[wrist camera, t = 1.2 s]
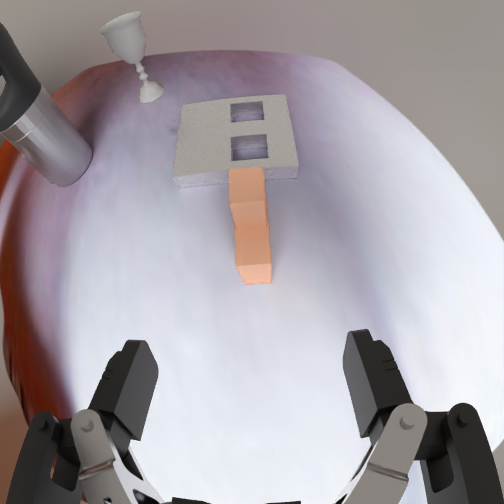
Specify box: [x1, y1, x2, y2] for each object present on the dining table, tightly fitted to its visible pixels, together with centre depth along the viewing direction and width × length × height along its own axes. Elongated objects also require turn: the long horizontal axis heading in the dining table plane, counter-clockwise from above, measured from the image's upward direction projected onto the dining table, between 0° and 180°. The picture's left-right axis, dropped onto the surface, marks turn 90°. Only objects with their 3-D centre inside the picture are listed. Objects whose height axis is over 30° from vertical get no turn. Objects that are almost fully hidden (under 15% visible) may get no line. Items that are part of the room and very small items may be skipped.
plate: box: [173, 94, 299, 188], centre depth 37 cm, size 16×14×3 cm
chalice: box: [99, 12, 164, 103], centre depth 35 cm, size 7×7×18 cm
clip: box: [229, 167, 271, 285], centre depth 27 cm, size 3×10×14 cm, turn 3°
